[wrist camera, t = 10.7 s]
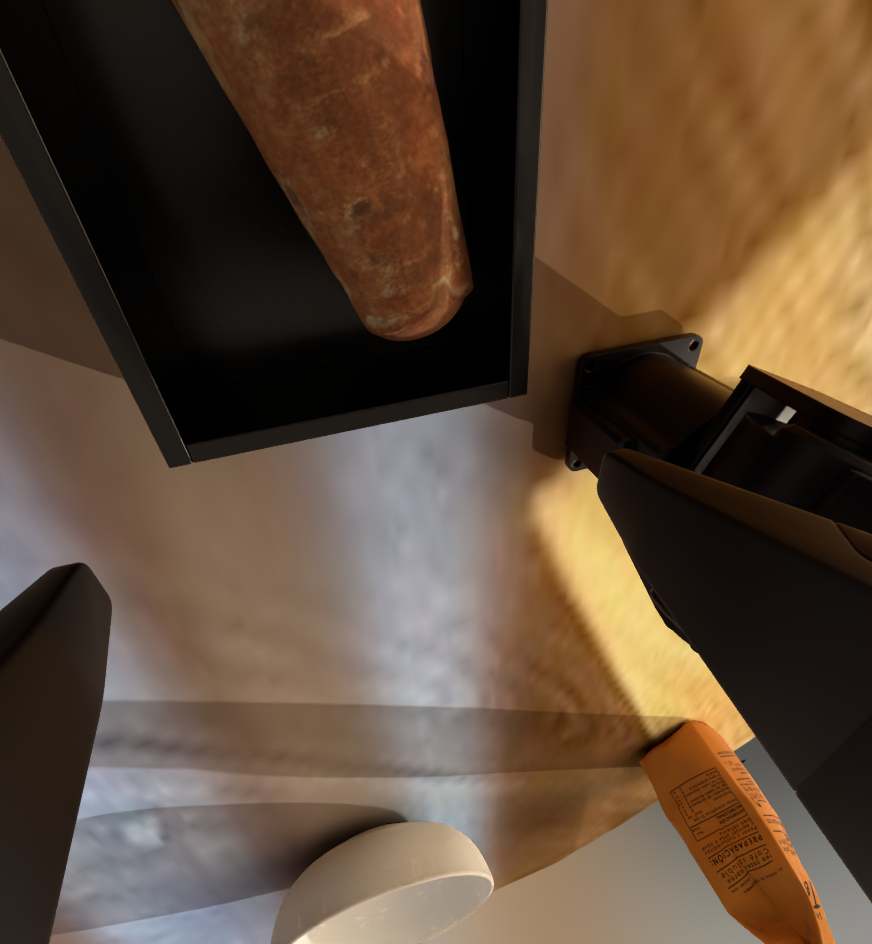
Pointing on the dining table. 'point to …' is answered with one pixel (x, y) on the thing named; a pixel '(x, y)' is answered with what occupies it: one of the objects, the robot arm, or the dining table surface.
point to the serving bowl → (386, 888)
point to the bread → (350, 143)
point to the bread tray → (262, 225)
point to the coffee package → (735, 837)
